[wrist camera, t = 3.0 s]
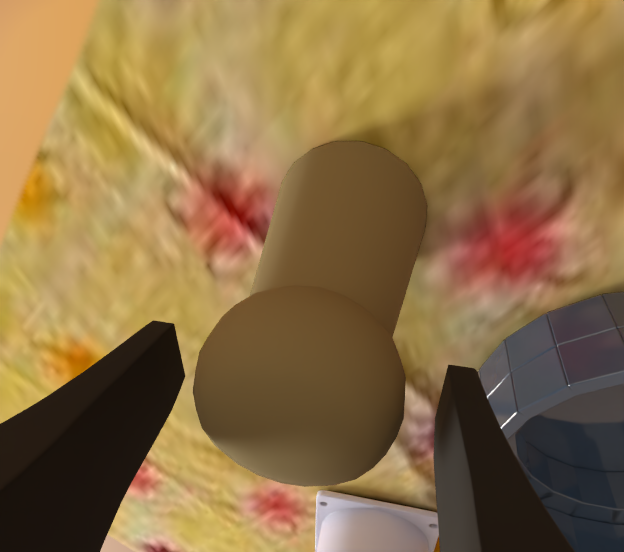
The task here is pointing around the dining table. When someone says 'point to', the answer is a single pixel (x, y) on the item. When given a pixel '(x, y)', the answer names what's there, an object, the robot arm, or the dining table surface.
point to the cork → (319, 324)
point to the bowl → (568, 415)
